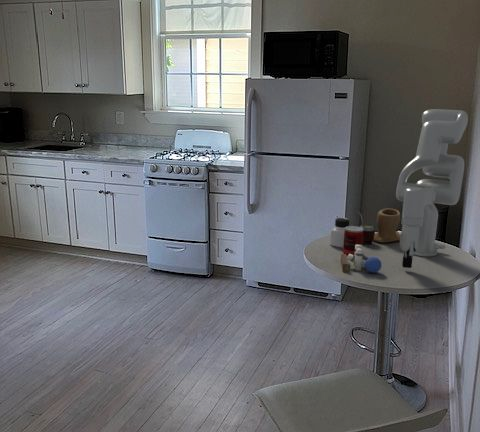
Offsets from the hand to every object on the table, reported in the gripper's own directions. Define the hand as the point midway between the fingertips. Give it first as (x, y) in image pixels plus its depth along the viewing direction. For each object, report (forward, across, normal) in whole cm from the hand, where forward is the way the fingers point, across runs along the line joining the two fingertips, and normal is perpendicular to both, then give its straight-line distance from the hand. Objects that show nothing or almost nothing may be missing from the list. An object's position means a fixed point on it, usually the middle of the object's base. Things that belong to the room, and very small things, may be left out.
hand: (406, 266), depth 195 cm
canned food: (+2, -17, -19) cm, 25 cm away
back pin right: (+2, -2, -18) cm, 19 cm away
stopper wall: (+2, 0, -24) cm, 24 cm away
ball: (-2, +5, -13) cm, 14 cm away
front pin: (0, 0, -15) cm, 15 cm away
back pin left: (+2, +2, -18) cm, 19 cm away
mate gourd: (+2, -33, -12) cm, 35 cm away
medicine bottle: (+2, -28, -23) cm, 37 cm away
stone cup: (+2, -39, -1) cm, 39 cm away
